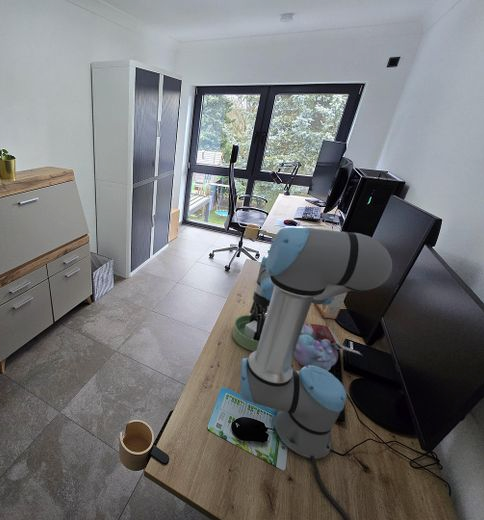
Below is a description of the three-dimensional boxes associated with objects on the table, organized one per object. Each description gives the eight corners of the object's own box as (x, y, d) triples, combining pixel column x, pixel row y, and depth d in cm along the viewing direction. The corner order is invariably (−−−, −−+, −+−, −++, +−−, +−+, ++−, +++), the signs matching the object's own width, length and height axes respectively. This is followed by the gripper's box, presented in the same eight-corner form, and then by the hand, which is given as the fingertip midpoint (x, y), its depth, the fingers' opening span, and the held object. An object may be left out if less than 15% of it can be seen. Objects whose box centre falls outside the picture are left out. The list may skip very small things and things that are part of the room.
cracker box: (336, 319, 137) (352, 282, 127) (323, 317, 138) (337, 280, 128) (326, 302, 149) (339, 267, 140) (313, 301, 150) (326, 266, 141)
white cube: (263, 339, 123) (266, 328, 121) (254, 344, 121) (257, 333, 118) (251, 331, 128) (254, 320, 125) (242, 335, 125) (245, 324, 122)
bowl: (279, 355, 116) (282, 344, 113) (235, 350, 118) (237, 339, 115) (268, 327, 131) (271, 317, 128) (229, 323, 133) (231, 313, 131)
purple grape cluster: (270, 339, 117) (302, 322, 104) (298, 318, 128) (330, 300, 114) (306, 386, 110) (346, 374, 96) (332, 359, 121) (371, 345, 107)
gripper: (282, 309, 104) (268, 356, 114) (267, 280, 123) (256, 322, 133) (260, 307, 105) (249, 354, 115) (249, 278, 124) (240, 320, 134)
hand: (253, 337), depth 124 cm, fingers closed on white cube, 8 cm apart
